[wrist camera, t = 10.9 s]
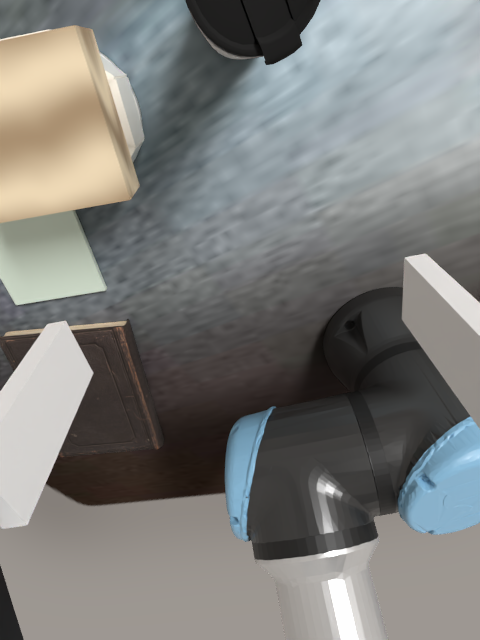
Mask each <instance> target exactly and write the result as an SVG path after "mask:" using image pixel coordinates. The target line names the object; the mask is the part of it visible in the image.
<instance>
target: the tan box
mask: <svg viewBox="0 0 480 640" xmlns="http://www.w3.org/2000/svg"><path fill="white" fill-rule="evenodd" d="M139 186H140V185H139V182H138V178H137V175H136V172H135V168H134V165H133V162H132V159H131V155H130V152H129V149H128V145H127V142H126V139H125V136H124V132H123V129H122V126H121V122H120V119H119V116H118V112H117V109H116V106H115V103H114V99H113V96H112V93H111V89H110V86H109V83H108V79H107V76H106V73H105V70H104V66H103V63H102V60H101V56H100V53H99V50H98V46H97V43H96V40H95V37H94V33H93V30H92V29H88V28H84V27H80V26H75V25H73V26H69V27H64V28H59V29H54V30H49V31H45V32H40V33H35V34H30V35H25V36H21V37H16V38H11V39H6V40H1V41H0V223H4V222H10V221H15V220H21V219H26V218H32V217H38V216H43V215H49V214H54V213H60V212H65V211H71V210H77V209H82V208H88V207H93V206H99V205H105V204H110V203H116V202H121V201H127V200H131V199H132V197H133V196H134V194H135V193H136V191H137V190H138V188H139Z"/></svg>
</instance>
